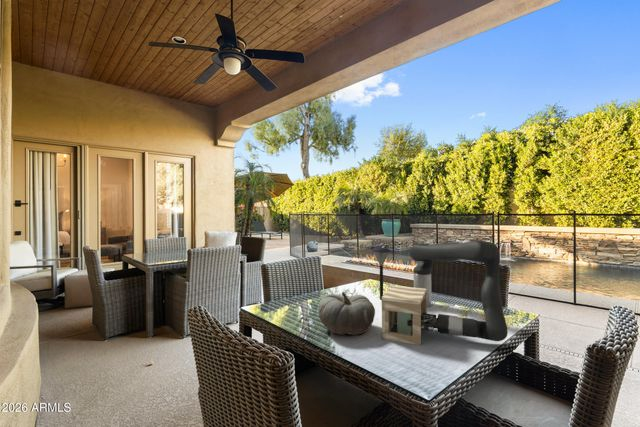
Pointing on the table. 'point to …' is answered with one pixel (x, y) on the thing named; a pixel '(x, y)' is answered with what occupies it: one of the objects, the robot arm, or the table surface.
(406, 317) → the block
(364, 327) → the gourd
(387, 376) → the table surface
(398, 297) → the box
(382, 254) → the solar garden light
